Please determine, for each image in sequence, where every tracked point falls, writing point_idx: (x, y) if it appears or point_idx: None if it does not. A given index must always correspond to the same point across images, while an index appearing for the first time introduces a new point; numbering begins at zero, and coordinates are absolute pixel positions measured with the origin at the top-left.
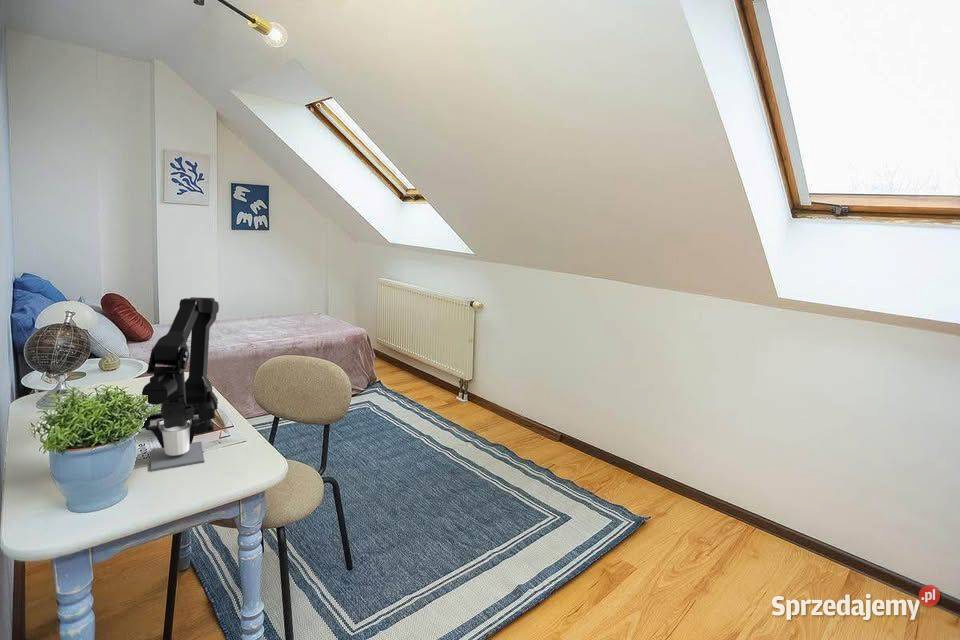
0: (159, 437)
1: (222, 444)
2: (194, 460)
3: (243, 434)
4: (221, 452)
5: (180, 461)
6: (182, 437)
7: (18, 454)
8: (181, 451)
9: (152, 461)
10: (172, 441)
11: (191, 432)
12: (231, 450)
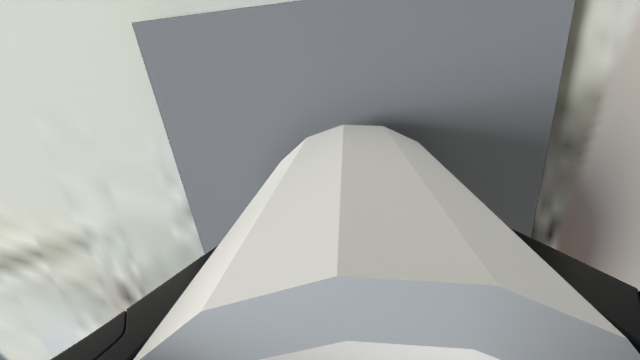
0: (612, 295)
1: (102, 269)
2: (213, 44)
3: (27, 345)
4: (68, 162)
5: (325, 57)
6: (263, 212)
7: None
8: (314, 140)
9: (540, 129)
10: (412, 175)
11: (156, 317)
12: (9, 173)
